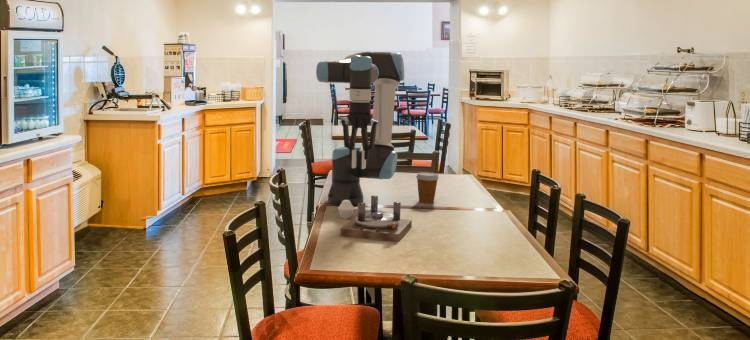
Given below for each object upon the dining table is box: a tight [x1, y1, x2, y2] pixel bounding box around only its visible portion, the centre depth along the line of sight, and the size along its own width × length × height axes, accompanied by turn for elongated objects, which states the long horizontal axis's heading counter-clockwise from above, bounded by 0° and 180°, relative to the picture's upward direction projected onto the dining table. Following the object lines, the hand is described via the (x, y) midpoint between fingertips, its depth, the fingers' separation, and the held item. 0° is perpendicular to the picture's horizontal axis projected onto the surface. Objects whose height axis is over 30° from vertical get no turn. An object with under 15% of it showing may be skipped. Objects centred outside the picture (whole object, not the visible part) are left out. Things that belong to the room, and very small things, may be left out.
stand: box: [339, 216, 413, 243], centre depth 206 cm, size 20×20×3 cm
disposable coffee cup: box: [415, 171, 439, 204], centre depth 254 cm, size 10×10×12 cm
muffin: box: [337, 200, 355, 220], centre depth 224 cm, size 6×6×7 cm
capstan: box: [355, 195, 402, 229], centre depth 206 cm, size 16×15×8 cm
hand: (358, 167), depth 212 cm, fingers open, 3 cm apart
